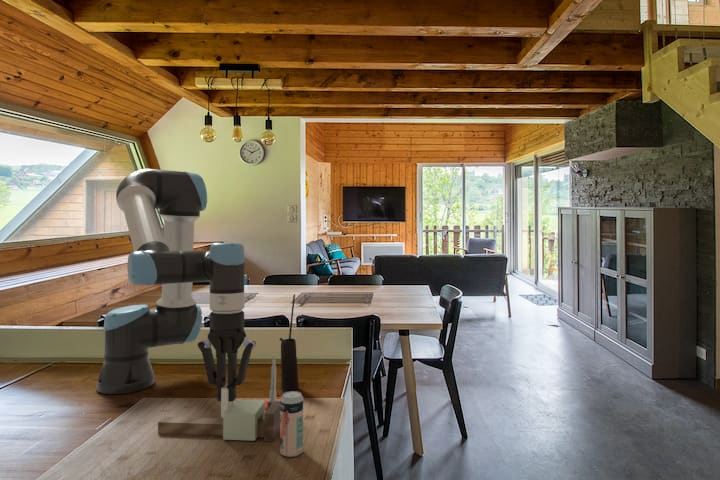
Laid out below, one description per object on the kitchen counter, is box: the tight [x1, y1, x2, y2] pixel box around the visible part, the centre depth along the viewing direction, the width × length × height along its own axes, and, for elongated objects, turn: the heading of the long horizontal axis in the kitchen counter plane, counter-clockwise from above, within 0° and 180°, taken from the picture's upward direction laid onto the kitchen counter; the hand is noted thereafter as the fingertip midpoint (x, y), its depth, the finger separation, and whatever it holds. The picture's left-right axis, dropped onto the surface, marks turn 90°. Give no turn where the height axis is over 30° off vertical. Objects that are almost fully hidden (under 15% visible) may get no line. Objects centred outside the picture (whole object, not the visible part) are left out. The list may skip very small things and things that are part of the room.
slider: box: [222, 399, 265, 442], centre depth 97 cm, size 7×8×6 cm
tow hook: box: [265, 356, 282, 411], centre depth 113 cm, size 9×14×10 cm
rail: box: [157, 402, 280, 443], centre depth 98 cm, size 27×7×6 cm, turn 86°
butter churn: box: [279, 294, 300, 393], centre depth 126 cm, size 9×10×28 cm
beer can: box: [279, 390, 304, 458], centre depth 89 cm, size 5×5×12 cm
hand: (226, 415), depth 97 cm, fingers closed
